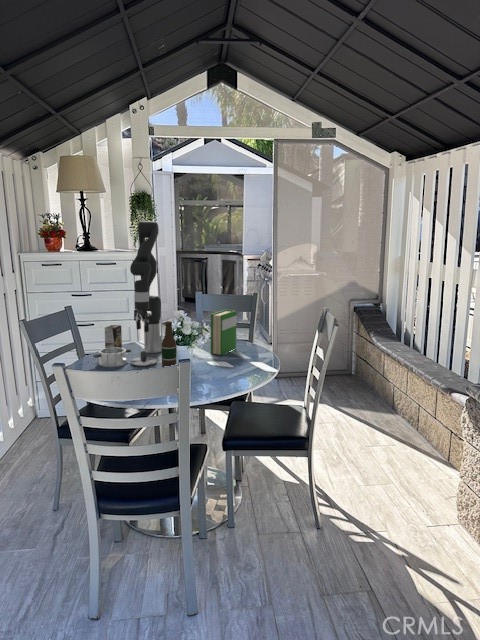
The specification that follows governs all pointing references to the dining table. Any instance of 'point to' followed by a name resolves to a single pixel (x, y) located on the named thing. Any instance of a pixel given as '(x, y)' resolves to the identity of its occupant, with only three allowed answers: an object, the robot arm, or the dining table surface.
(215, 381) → the dining table surface
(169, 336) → the beer bottle
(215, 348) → the hardback book
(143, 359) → the lid
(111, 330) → the coffee box
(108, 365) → the pot
